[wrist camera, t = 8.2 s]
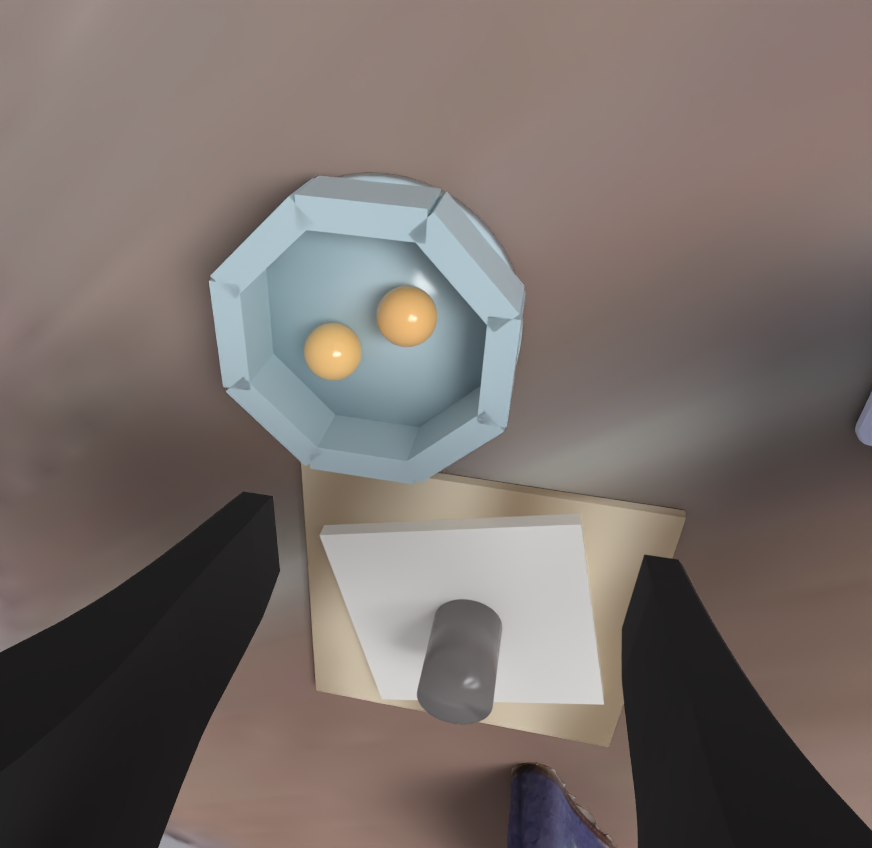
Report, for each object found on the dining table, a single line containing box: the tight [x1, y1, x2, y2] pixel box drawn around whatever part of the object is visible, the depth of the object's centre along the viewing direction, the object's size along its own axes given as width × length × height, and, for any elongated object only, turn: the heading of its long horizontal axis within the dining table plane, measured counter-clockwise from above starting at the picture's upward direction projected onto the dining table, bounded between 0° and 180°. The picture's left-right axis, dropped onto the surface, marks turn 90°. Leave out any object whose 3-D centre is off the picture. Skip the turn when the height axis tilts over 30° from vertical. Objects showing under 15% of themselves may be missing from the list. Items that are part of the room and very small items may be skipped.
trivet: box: [301, 463, 686, 747], centre depth 29 cm, size 14×14×1 cm
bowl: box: [209, 172, 526, 485], centre depth 21 cm, size 9×9×3 cm
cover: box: [320, 513, 604, 724], centre depth 27 cm, size 10×10×4 cm
